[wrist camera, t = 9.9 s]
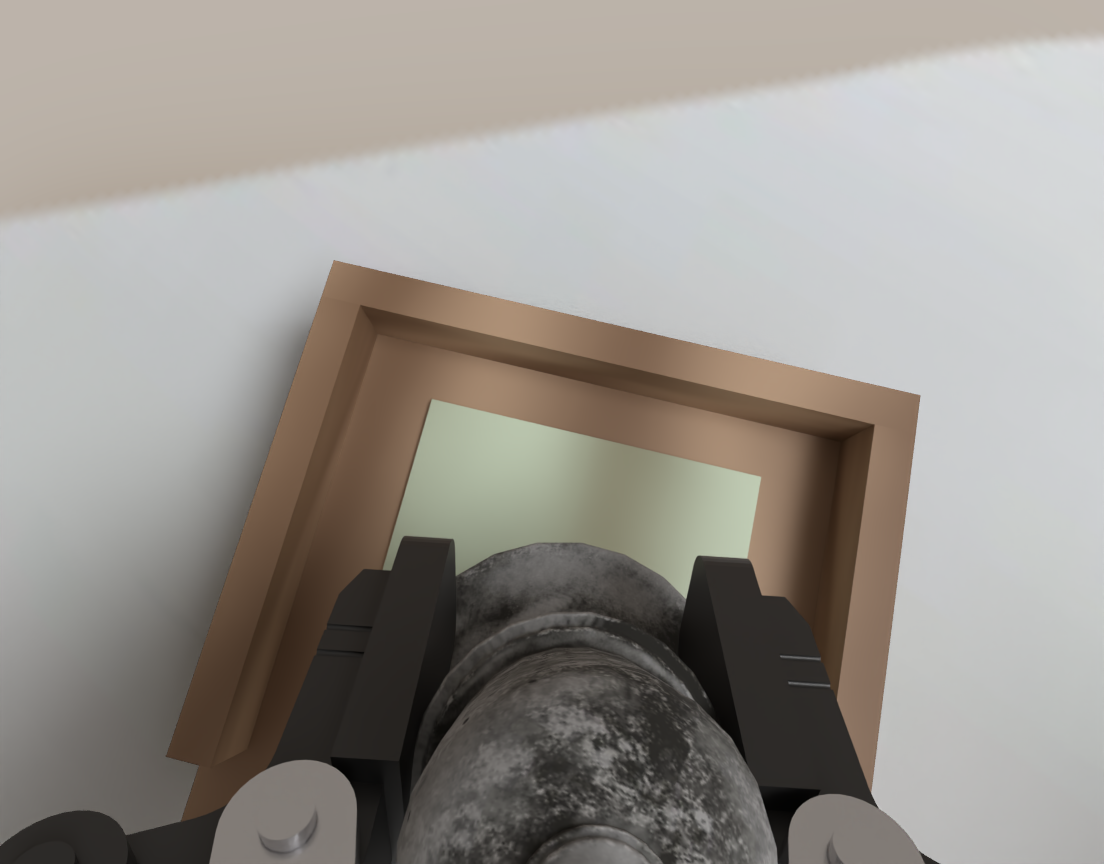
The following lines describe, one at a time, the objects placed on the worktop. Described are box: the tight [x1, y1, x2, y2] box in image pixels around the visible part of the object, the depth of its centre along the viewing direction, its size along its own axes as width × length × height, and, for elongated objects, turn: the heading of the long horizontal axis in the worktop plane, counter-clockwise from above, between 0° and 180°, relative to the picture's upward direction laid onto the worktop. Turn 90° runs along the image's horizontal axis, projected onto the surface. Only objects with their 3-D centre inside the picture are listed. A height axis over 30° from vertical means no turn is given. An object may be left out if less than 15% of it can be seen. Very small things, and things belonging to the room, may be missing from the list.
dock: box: [166, 260, 920, 822], centre depth 19 cm, size 15×14×5 cm
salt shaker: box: [396, 543, 778, 864], centre depth 9 cm, size 6×6×12 cm
